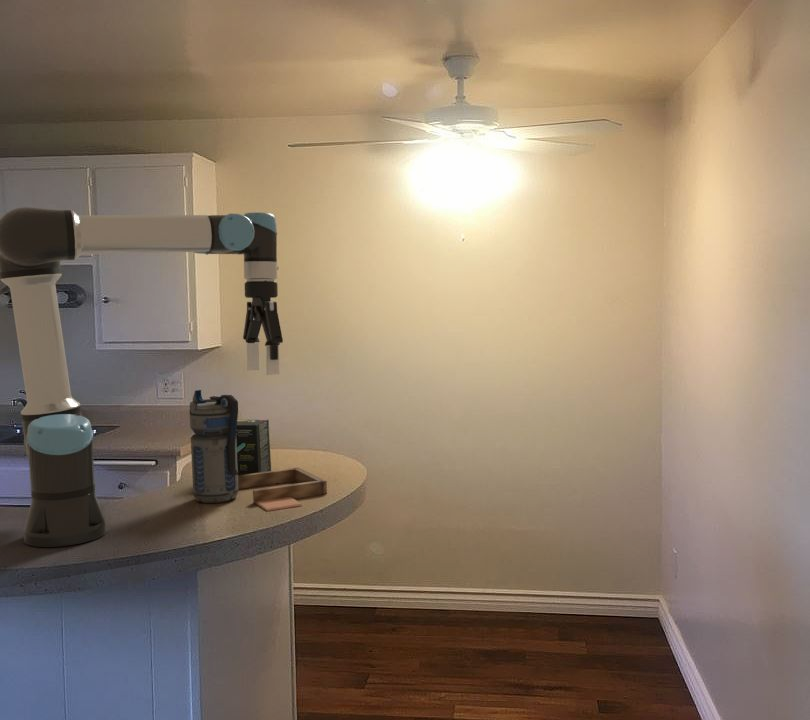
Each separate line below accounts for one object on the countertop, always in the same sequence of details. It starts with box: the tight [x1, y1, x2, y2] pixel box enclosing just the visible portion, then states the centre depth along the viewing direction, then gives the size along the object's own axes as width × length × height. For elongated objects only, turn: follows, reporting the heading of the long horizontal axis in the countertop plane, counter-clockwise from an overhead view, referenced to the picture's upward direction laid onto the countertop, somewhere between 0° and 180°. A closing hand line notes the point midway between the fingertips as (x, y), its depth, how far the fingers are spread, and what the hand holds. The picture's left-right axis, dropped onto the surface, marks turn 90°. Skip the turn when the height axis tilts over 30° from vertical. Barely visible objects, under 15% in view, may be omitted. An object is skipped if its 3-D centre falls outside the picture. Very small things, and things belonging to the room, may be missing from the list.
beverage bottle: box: [189, 389, 239, 504], centre depth 189 cm, size 10×13×25 cm
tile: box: [256, 497, 303, 512], centre depth 184 cm, size 8×8×1 cm
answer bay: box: [238, 467, 328, 505], centre depth 197 cm, size 17×18×3 cm
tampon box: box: [236, 419, 272, 475], centre depth 211 cm, size 11×9×15 cm
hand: (262, 372), depth 193 cm, fingers open, 13 cm apart
